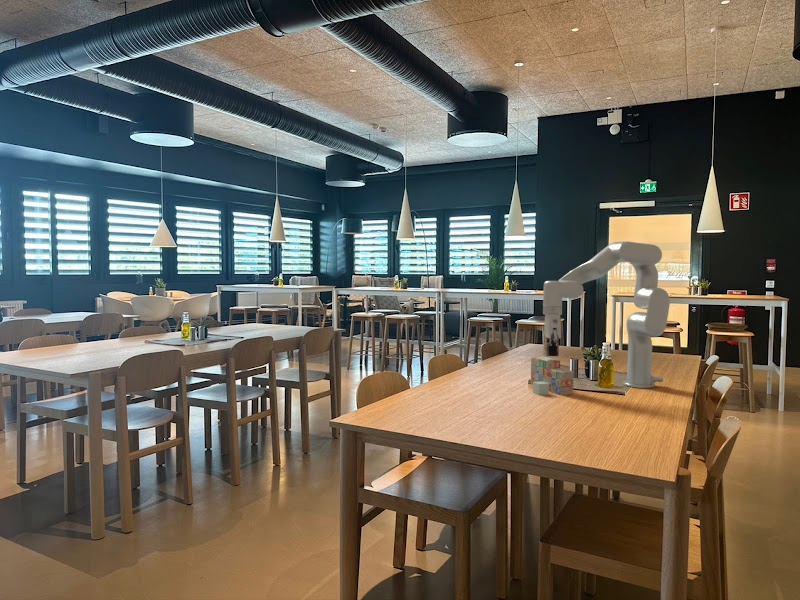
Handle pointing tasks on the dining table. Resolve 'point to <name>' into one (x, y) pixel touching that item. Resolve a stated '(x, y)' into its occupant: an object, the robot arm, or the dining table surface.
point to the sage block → (541, 388)
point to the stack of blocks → (552, 375)
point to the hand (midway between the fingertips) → (551, 354)
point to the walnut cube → (546, 349)
